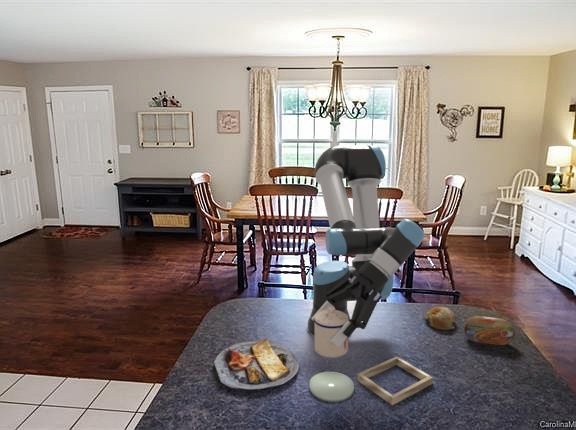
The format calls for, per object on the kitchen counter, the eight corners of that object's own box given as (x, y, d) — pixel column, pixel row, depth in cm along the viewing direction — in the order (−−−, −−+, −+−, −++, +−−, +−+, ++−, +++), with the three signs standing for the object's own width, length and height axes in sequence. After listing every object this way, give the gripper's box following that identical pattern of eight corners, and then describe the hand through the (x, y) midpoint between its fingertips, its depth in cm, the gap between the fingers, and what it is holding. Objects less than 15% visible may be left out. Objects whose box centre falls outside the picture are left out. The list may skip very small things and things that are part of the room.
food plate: (208, 352, 135) (208, 342, 134) (279, 340, 143) (279, 331, 142) (225, 404, 112) (225, 392, 112) (309, 386, 120) (309, 375, 119)
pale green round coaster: (300, 384, 120) (300, 381, 119) (334, 370, 126) (334, 366, 126) (328, 407, 110) (328, 404, 110) (363, 391, 117) (363, 387, 116)
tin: (463, 340, 143) (465, 316, 141) (462, 336, 146) (464, 312, 144) (513, 347, 139) (516, 323, 137) (511, 342, 142) (514, 318, 140)
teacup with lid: (352, 357, 110) (353, 314, 107) (317, 360, 108) (317, 316, 106) (341, 334, 121) (341, 295, 119) (309, 336, 120) (308, 297, 118)
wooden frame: (357, 380, 121) (357, 373, 121) (396, 362, 130) (396, 356, 130) (392, 405, 111) (392, 398, 111) (432, 383, 120) (432, 377, 119)
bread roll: (445, 341, 149) (457, 324, 146) (418, 323, 153) (430, 306, 150) (451, 329, 157) (463, 313, 154) (426, 312, 161) (437, 296, 158)
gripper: (413, 294, 105) (355, 363, 104) (364, 263, 127) (315, 319, 126) (395, 277, 102) (335, 347, 101) (348, 248, 124) (298, 305, 123)
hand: (324, 332), depth 113 cm, fingers closed on teacup with lid, 12 cm apart
